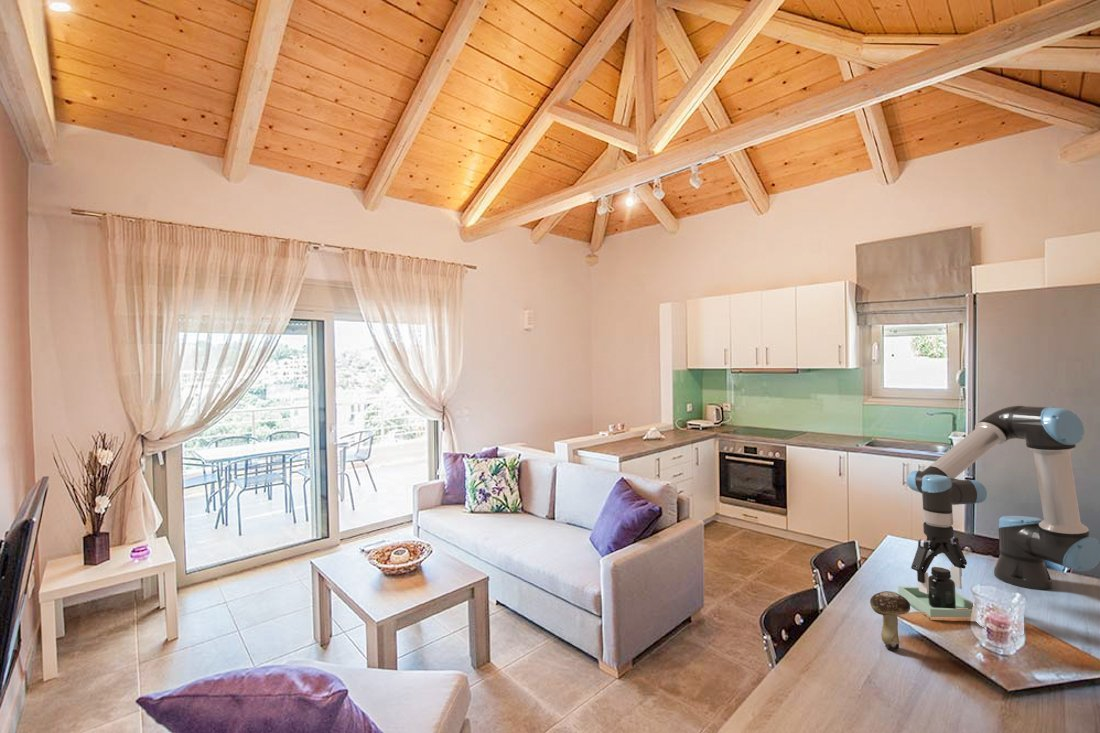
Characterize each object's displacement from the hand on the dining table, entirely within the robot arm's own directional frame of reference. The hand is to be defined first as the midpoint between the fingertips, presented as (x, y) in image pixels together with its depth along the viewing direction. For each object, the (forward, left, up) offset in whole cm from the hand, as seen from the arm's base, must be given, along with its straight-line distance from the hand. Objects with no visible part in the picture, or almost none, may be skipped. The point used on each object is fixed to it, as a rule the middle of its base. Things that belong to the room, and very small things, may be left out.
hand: (940, 589), depth 155 cm
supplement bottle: (0, +1, -6) cm, 6 cm away
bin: (0, 0, -6) cm, 6 cm away
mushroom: (+29, +25, -6) cm, 39 cm away
